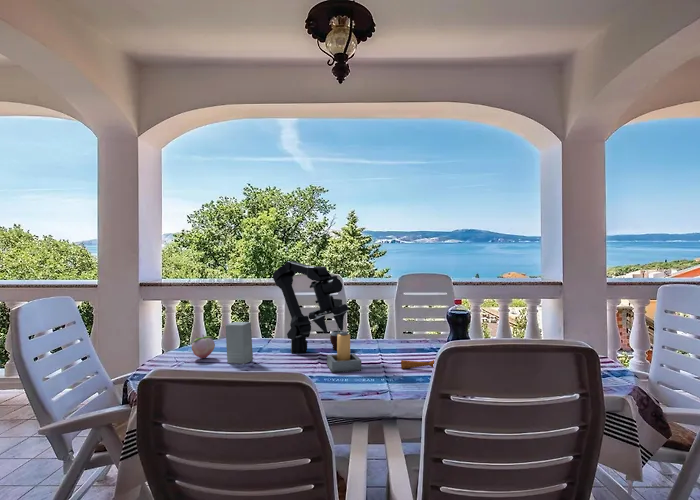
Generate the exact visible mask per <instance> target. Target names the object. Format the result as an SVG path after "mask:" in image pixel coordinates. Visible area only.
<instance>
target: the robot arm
mask: <svg viewBox="0 0 700 500" xmlns="http://www.w3.org/2000/svg"><path fill="white" fill-rule="evenodd" d="M296 273H299V274H302V275H304V276H306V277H307V278H308V279H310V280H311V281H312V282H311V283H310V285H309V289H313V292H314V294H315V297H316V300H315V301H314V302H315V304H317V305H318V309H316V310H313V311H311V312H309V313H308V315H304V314H303V313H302V310H301V307H300V305H299V302H298V299H297V298H298V297H297V295H296V294H295V291H294V288H293V282H294V277H295V275H296ZM272 278H273V281H274V283H275V285H276V286H277V287H278V288H279V289H280V290H281V292H282V295H283V297H284V300H285V303H286V306H287V309H288V312H289V315H290V318H291V319H290V323H289V324H290V325H289V326H290V329H289V330H288V331H287V333H286V336H287V339H288V340H290V353H291V354H306V353H307V351H308V341H307V338H310V334H311V331H312V326H311V325H312V323H311V321H312V322H314V323H315V324H316V325H317V326H318V327H319V328H320V329H321V330H322V331H323V332H324V333H325V334H327V333H328V328H327V325H326V321H325V318H326V316H327V315H329V314H333V319H334V321H335V322H336V326H337V325H338V327H339V331H343V330H344V317H345V314H347V313H348V311H349V310H350V309H349V305H348V304H346V303H343V299H340V298H334V296H333V294H337V293H340V292H342V290H343V283H342V281H341V279H339V278H338V275H332V274H331V273H330V272H329V271H328V269H327V267H326V266H318V265H317V266H311V265H308V264H305V263H300V262H298V261H296V260H294V261H293V260H291V261H289V260H288V261H286V262H285V263H284V264H283V265H282V266H280V267H278V268H277V269H276V270H275V271H274V273H273V275H272ZM310 320H311V321H310Z"/></svg>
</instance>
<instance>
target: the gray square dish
mask: <svg viewBox="0 0 700 500" xmlns="http://www.w3.org/2000/svg"><path fill="white" fill-rule="evenodd" d="M326 366H327V367H328V369H329V370H330V372H331V373H332V374H337V373H338V374H340V373H351V372H352V373H354V372H362V359H361V358H360V357H359V356H358V355H357V354H356V353H350V360H340V361H337V353H336V354H326Z"/></svg>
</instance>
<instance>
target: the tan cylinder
mask: <svg viewBox="0 0 700 500" xmlns="http://www.w3.org/2000/svg"><path fill="white" fill-rule="evenodd" d="M342 331H343V330H342ZM336 354H337V361H340V360H350V354H351V333H349V332H348V331H343V332H340V334H338V335H337V350H336Z"/></svg>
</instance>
